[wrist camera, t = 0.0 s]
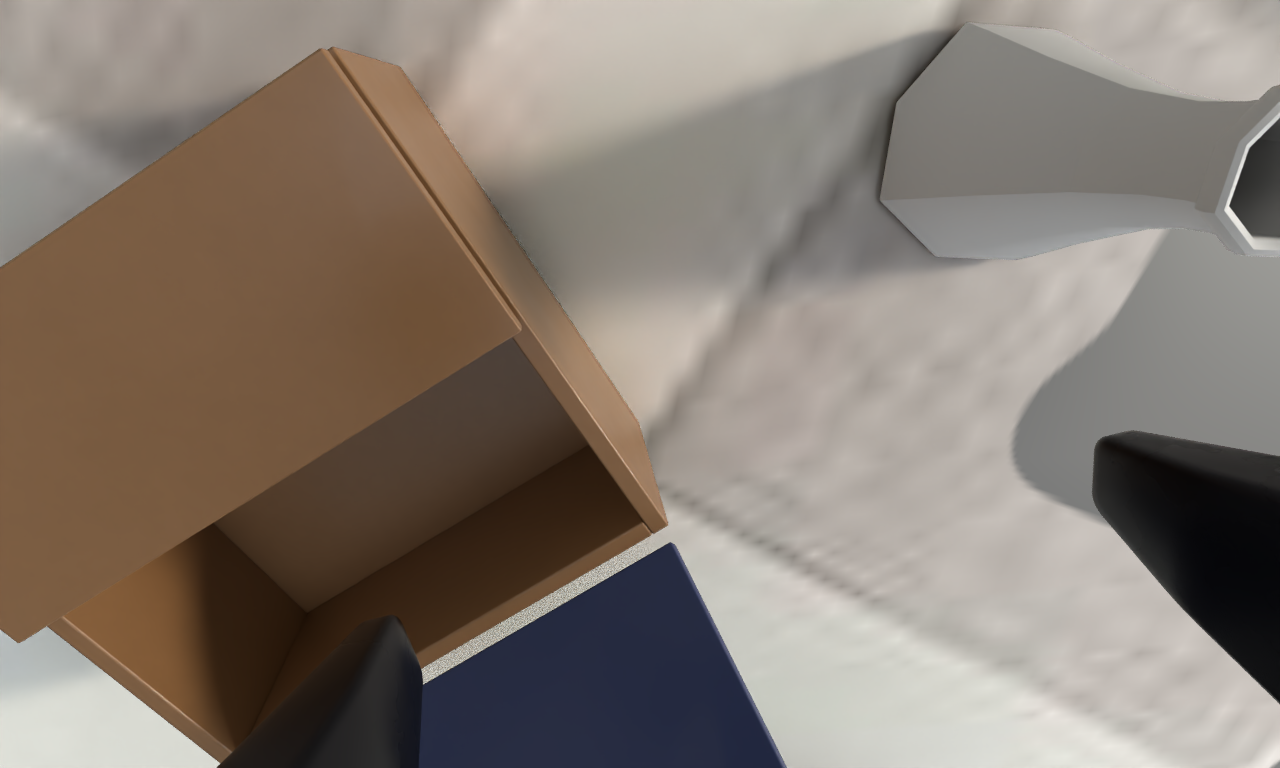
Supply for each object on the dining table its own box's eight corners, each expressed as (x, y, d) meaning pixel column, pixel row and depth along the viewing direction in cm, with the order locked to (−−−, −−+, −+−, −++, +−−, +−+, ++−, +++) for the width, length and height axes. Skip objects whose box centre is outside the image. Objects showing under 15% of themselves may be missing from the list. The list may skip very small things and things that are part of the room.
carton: (639, 422, 24) (674, 543, 17) (309, 619, 25) (223, 803, 19) (399, 65, 19) (320, 41, 13) (7, 330, 21) (-257, 437, 14)
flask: (838, 216, 22) (1043, 290, 13) (951, -23, 20) (1292, -136, 11) (1018, 291, 24) (1311, 404, 15) (1139, 79, 22) (1570, 56, 13)
